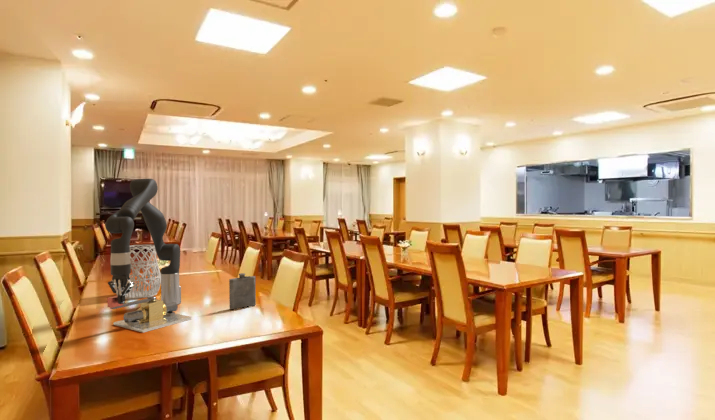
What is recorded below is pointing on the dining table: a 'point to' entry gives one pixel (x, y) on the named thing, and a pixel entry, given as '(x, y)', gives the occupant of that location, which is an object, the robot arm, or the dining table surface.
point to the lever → (114, 304)
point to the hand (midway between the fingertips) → (121, 303)
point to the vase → (144, 274)
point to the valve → (152, 316)
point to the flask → (242, 291)
